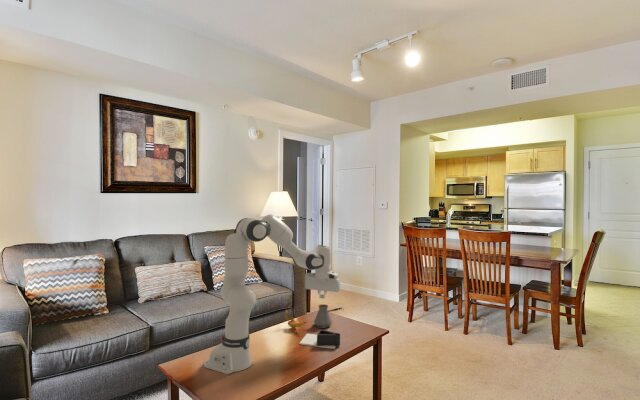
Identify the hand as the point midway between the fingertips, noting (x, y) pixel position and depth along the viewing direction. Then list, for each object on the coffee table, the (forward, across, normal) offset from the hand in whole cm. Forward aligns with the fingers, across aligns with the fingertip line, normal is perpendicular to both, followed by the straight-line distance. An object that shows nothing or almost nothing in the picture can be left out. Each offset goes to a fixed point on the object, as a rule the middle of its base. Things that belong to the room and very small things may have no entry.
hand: (322, 298), depth 191 cm
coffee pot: (+25, -1, +23) cm, 34 cm away
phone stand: (+21, -1, -2) cm, 22 cm away
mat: (+25, -1, +1) cm, 25 cm away
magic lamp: (+25, -20, +13) cm, 35 cm away
